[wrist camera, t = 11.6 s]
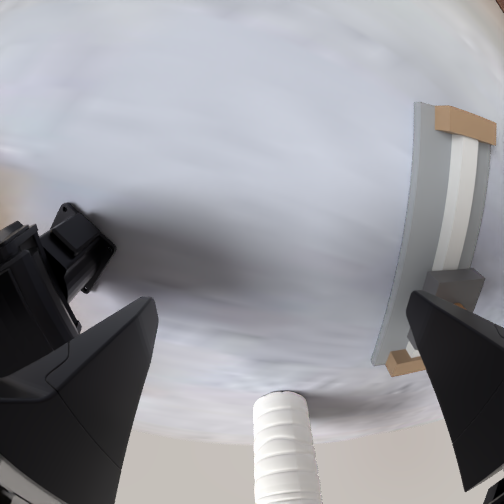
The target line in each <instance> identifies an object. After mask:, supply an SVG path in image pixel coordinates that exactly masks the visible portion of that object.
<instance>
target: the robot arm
mask: <svg viewBox="0 0 504 504" xmlns="http://www.w3.org/2000/svg"><path fill="white" fill-rule="evenodd" d="M65 207H66V208H67V211H66V209H65ZM37 231H38V229H37V226H36V224H33V225H31V226H29V225H26V226H25V225H24V226H23V225H22V224H21V223H20V222H19V221H16V222H14V223H12V224H10V225H9V226H7V227H5V228H3V229H2V230H0V504H114V503H115V498H116V493H117V488H118V484H119V479H120V474H121V469H122V465H123V461H124V457H125V452H126V448H127V444H128V440H129V436H130V432H131V429H132V425H133V421H134V418H135V414H136V410H137V407H138V403H139V400H140V396H141V393H142V389H143V386H144V383H145V379H146V376H147V373H148V370H149V366H150V363H151V359H152V354H153V348H154V343H155V338H156V333H157V328H158V314H157V310H156V305H155V301H154V299H153V298H152V297H140V298H139V299H137V300H136V301H134V302H132V303H131V304H129V305H127V306H126V307H124V308H122V309H121V310H119V311H117V312H116V313H114V314H113V315H111V316H109V317H108V318H106V319H104V320H103V321H101V322H100V323H98V324H96V325H95V326H93V327H91V328H90V329H88V330H87V331H85V332H83V333H82V334H80V331H81V328H82V326H81V324H80V322H79V321H78V320H77V319H76V317H75V316H74V314H73V312H72V310H71V308H70V306H69V303H70V302H71V300H72V299H73V298H74V297H75V296H76V295H77V293H78V292H79V291H80V290H81V291H82V292H83V293H85V294H88V293H89V292H90V291H91V289H92V287H93V286H94V284H95V283H96V281H97V279H98V278H99V276H100V275H101V273H102V271H103V270H104V268H105V267H106V265H107V264H108V262H109V261H110V259H111V258H112V256H113V255H114V253H115V251H116V246H115V245H114V244H113V243H112V242H111V241H110V240H109V239H107V238H106V237H105V236H104V235H103V234H102V233H101V232H100V231H99V230H98V229H97V228H96V227H95V226H94V225H93V224H92V223H91V222H89V221H88V220H87V219H86V218H85V217H84V216H83V215H82V214H81V213H79V212H78V211H77V210H76V209H74V208H73V207H72V206H71V205H70V204H69V203H64V204H62V205H61V207H60V209H59V211H58V213H57V215H56V217H55V220H54V222H53V224H52V226H51V228H50V230H49V231H47V232H46V233H44V234H43V235H41V236H40V237H39V235H38V232H37ZM109 247H110V248H111V249H112V251H111V250H109ZM85 287H86V288H87V289H86V288H85ZM406 317H407V320H408V323H409V325H410V328H411V331H412V334H413V337H414V340H415V343H416V346H417V349H418V352H419V354H420V356H421V359H422V361H423V363H424V366H425V368H426V371H427V373H428V375H429V378H430V381H431V383H432V386H433V388H434V391H435V393H436V396H437V399H438V402H439V404H440V407H441V410H442V413H443V416H444V419H445V421H446V425H447V428H448V431H449V434H450V437H451V440H452V443H453V448H454V451H455V455H456V459H457V462H458V466H459V470H460V474H461V478H462V483H463V487H464V491H465V492H467V491H469V490H470V489H472V488H474V487H475V486H477V485H479V484H481V483H482V482H484V481H485V480H487V479H488V478H490V477H492V476H493V475H494V474H496V473H497V472H499V471H500V470H502V469H503V471H504V328H503V327H501V326H499V325H497V324H494V323H492V322H490V321H488V320H486V319H484V318H482V317H480V316H478V315H476V314H474V313H472V312H470V311H467V310H465V309H463V308H461V307H459V306H457V305H455V304H452V303H450V302H448V301H446V300H444V299H442V298H439V297H437V296H435V295H433V294H431V293H428V292H426V291H424V290H413V291H412V292H411V294H410V298H409V301H408V304H407V308H406ZM483 504H504V478H503V479H502V480H500V481H499V482H497V483H496V484H495V485H493V486H492V487H490V488H489V489H488V492H487V495H486V498H485V500H484V503H483Z"/></svg>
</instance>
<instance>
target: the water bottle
mask: <svg viewBox="0 0 504 504" xmlns="http://www.w3.org/2000/svg"><path fill="white" fill-rule="evenodd" d="M253 422H254V453H255V456H254V464H255V468H254V478H255V481H256V482H255V485H254V492H255V500H256V502H255V504H323V503H322V496H321V495H320V494H321V487H320V480H319V476H318V475H317V474H318V467H317V462H316V460H315V449H314V447H313V436H312V433H311V424H310V420H309V413H308V407H307V402H306V400H305V398H304V397H303V396H301V395H299V394H297V393H294V392H289V391H284V392H273V393H269V394H267V395H266V396H262V397H261V398H259V399H258V400H257V401H256V403H255V404H254V407H253Z"/></svg>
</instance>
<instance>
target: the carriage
mask: <svg viewBox="0 0 504 504" xmlns="http://www.w3.org/2000/svg"><path fill="white" fill-rule="evenodd" d="M484 280H485V278H484V277H483V276H482V275H481V274H479V273H478V272H477V271H476V270H475V269H473V268H470V269H455V270H440V271H427V275H426V278H425V282H424V286H423V289H422V290H424V291H426V292H428V293H431V294H433V295H435V296H437V297H439V298H442V299H444V300H446V301H448V302H450V303H452V304H455V305H457V306H459V307H461V308H463V309H465V310H467V311H470V312H472V313H473V311H474V308H475V305H476V303H477V300H478V298H479V295H480V292H481V289H482V286H483V283H484ZM407 338H408V340H409V341H410V343H411V344H412V346H413V348H414V349H415V350H418V349H417V346H416V343H415V340H414V337H413V334H412V331H411V328H410V329H409V332H408V335H407Z"/></svg>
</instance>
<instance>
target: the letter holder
mask: <svg viewBox="0 0 504 504" xmlns="http://www.w3.org/2000/svg"><path fill="white" fill-rule="evenodd" d="M496 2H497V3H498V5H499V6H500V8H501V9H502V11H503V13H504V0H496Z"/></svg>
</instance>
